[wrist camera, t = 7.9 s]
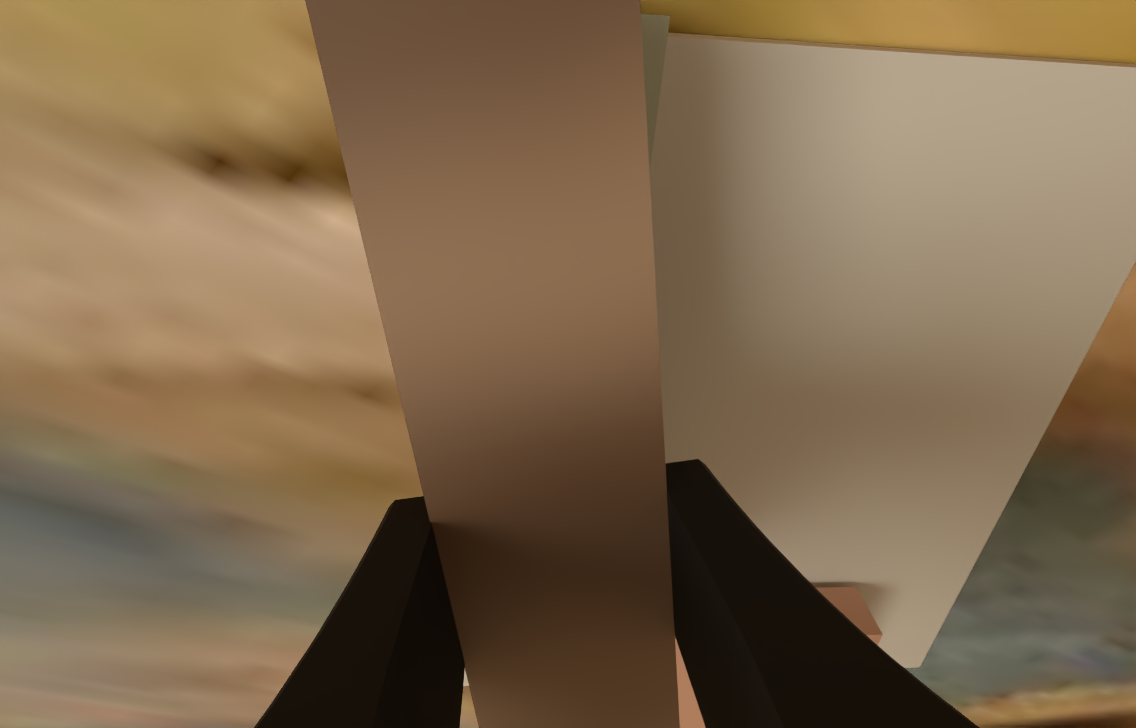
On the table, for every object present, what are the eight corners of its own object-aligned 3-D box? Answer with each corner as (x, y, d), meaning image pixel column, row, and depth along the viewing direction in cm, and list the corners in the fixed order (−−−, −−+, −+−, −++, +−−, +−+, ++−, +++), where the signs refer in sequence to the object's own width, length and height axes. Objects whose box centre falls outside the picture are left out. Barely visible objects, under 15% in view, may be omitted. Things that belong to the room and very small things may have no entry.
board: (1214, 51, 13) (1246, 56, 12) (909, 650, 22) (919, 668, 21) (443, -4, 11) (440, 0, 11) (457, 667, 20) (456, 687, 20)
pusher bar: (633, 581, 16) (683, 796, 11) (503, 599, 16) (501, 823, 11) (583, -10, 11) (638, -43, 6) (389, 14, 11) (303, -5, 6)
